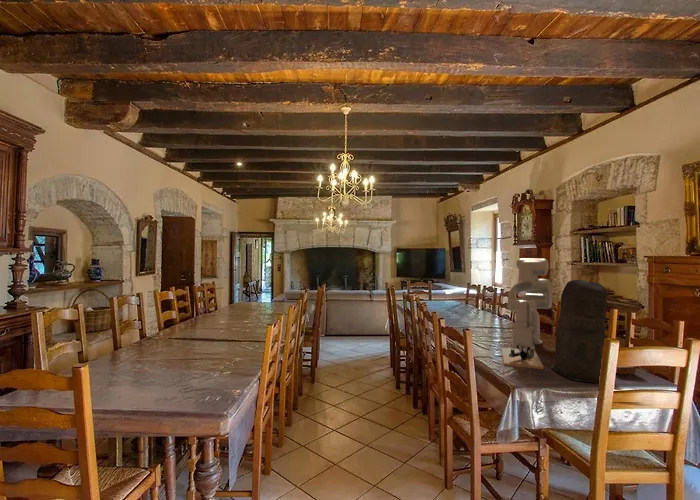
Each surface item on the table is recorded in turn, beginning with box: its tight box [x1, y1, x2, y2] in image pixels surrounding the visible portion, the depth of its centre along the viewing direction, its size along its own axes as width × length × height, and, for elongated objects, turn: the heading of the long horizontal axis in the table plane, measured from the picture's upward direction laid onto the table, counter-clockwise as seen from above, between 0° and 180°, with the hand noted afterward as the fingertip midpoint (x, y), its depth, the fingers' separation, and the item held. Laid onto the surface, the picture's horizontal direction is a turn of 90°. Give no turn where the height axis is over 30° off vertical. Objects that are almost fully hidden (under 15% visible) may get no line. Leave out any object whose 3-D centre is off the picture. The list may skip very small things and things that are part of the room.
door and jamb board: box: [501, 347, 545, 370], centre depth 203 cm, size 34×18×8 cm, turn 160°
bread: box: [616, 366, 637, 376], centre depth 185 cm, size 19×11×10 cm, turn 175°
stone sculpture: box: [549, 279, 609, 384], centre depth 171 cm, size 24×21×45 cm
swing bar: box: [509, 348, 520, 357], centre depth 197 cm, size 13×2×4 cm, turn 124°
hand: (523, 359), depth 194 cm, fingers closed
